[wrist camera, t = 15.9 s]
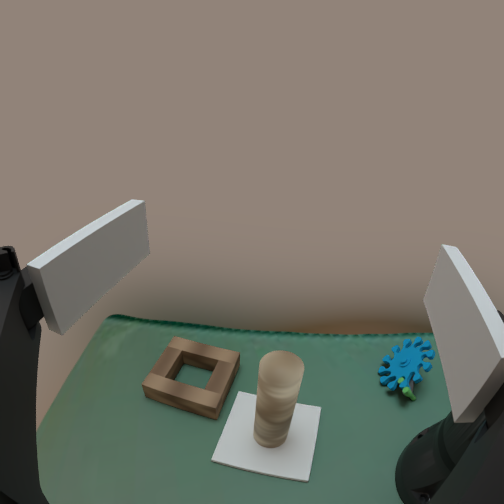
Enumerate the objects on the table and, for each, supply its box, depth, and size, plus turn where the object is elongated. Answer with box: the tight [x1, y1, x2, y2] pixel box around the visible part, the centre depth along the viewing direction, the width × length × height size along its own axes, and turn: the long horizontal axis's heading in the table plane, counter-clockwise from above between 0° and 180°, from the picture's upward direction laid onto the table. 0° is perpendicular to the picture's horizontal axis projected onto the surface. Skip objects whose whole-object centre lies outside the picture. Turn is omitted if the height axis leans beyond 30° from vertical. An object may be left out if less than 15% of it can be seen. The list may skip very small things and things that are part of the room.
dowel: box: [253, 351, 304, 448], centre depth 32 cm, size 4×4×14 cm
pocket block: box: [142, 336, 240, 420], centre depth 43 cm, size 11×11×3 cm
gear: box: [378, 337, 435, 401], centre depth 43 cm, size 11×6×10 cm
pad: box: [211, 391, 321, 482], centre depth 36 cm, size 12×12×1 cm
